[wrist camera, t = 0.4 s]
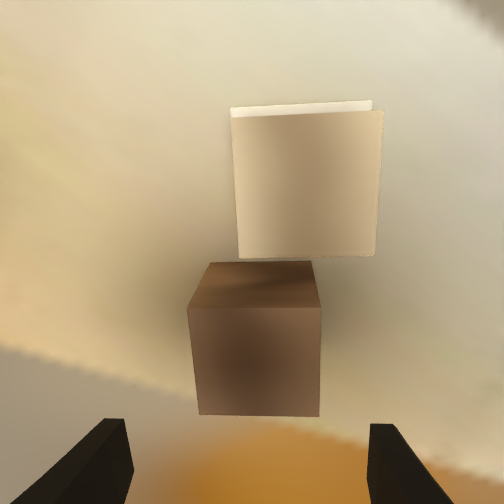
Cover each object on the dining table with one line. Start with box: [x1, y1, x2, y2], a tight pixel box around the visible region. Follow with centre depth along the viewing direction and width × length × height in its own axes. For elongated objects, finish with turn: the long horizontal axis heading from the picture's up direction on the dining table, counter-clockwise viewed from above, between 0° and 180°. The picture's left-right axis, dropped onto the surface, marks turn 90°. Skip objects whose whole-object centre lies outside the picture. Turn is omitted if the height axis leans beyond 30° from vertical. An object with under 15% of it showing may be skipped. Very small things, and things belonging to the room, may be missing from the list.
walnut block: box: [187, 261, 321, 417], centre depth 17 cm, size 5×5×5 cm
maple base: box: [231, 110, 384, 258], centre depth 15 cm, size 5×5×4 cm
